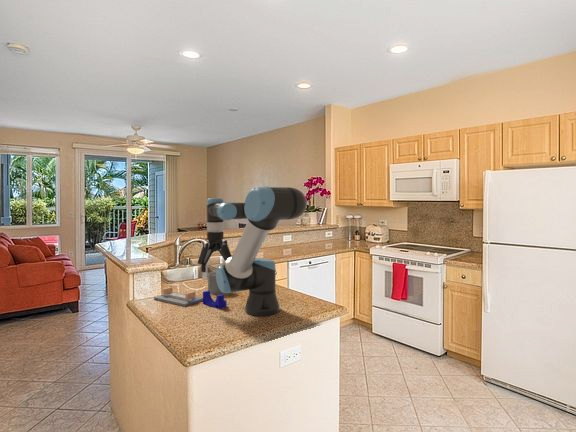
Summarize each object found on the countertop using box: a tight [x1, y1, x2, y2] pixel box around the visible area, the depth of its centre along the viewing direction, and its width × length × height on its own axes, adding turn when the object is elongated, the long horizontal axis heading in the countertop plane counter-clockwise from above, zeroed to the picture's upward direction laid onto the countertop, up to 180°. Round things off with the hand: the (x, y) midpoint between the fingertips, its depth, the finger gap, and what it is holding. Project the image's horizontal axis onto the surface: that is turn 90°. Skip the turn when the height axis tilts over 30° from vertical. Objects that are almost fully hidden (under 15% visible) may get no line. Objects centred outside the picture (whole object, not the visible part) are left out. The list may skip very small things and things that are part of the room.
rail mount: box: [153, 286, 203, 308], centre depth 173 cm, size 22×12×5 cm, turn 58°
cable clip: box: [202, 290, 227, 310], centre depth 165 cm, size 12×4×6 cm, turn 49°
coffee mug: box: [207, 271, 224, 295], centre depth 191 cm, size 13×10×10 cm
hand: (215, 276), depth 165 cm, fingers open, 13 cm apart
